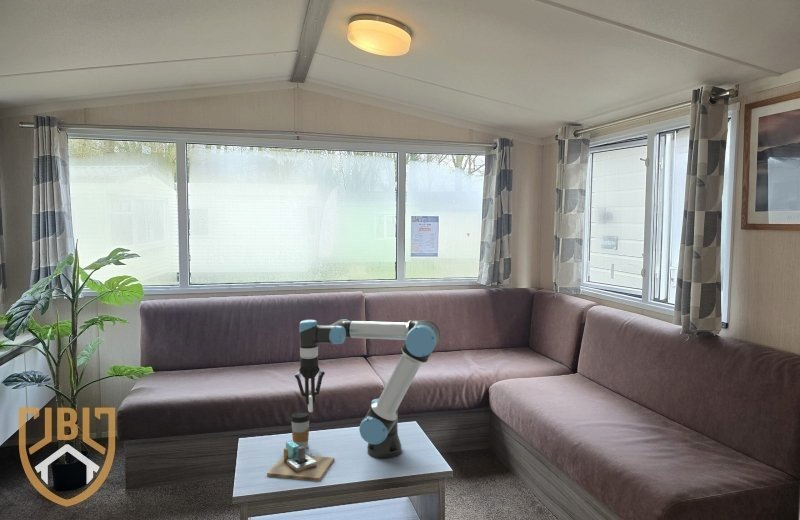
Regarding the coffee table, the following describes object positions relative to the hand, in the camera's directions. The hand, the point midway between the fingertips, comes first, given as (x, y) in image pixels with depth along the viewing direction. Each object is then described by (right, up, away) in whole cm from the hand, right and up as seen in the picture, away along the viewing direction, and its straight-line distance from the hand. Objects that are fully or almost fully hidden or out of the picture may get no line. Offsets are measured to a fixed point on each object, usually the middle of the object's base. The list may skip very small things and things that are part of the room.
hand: (310, 411), depth 216 cm
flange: (-4, -19, -6) cm, 21 cm away
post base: (-2, -21, -8) cm, 23 cm away
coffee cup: (-6, -20, +12) cm, 24 cm away
